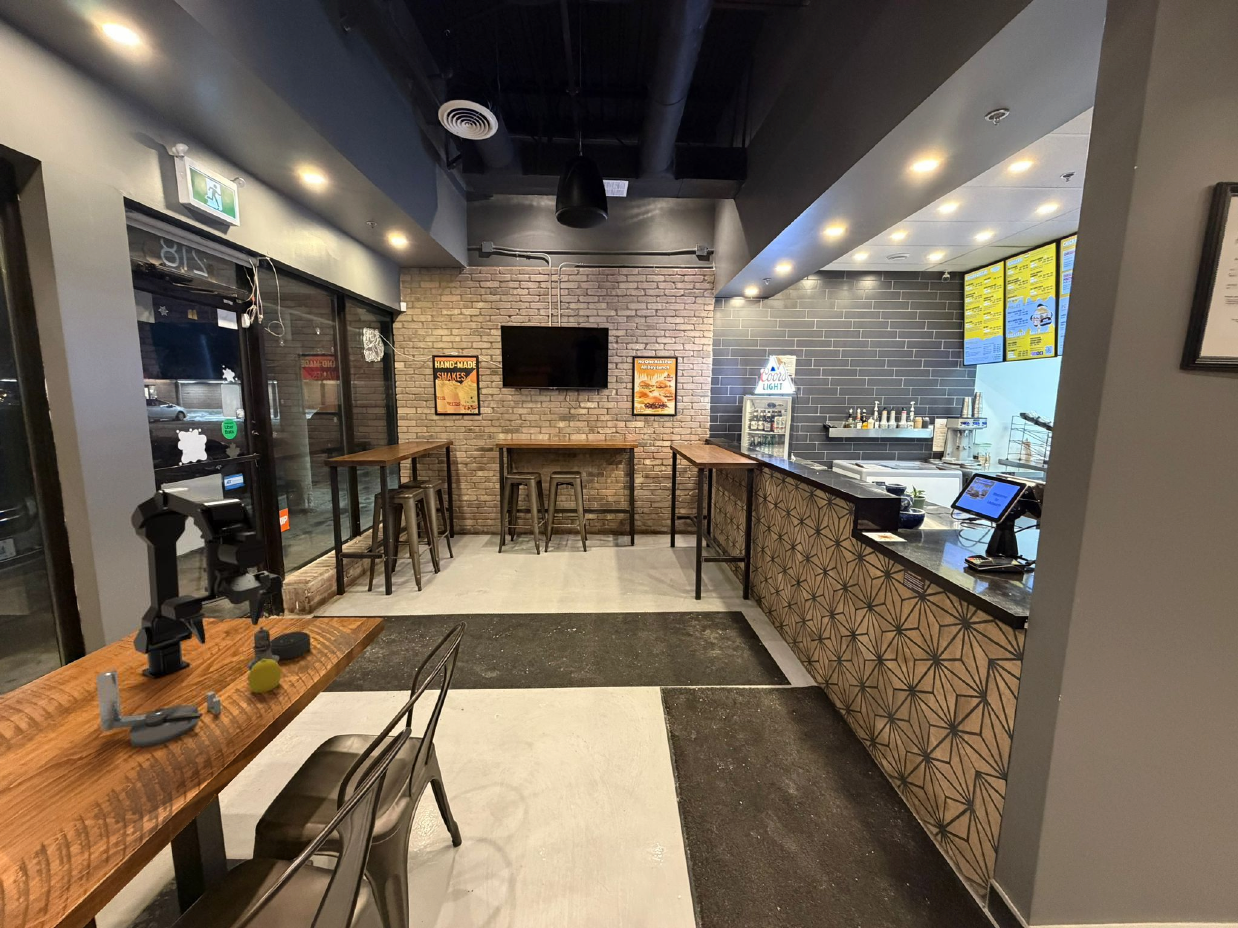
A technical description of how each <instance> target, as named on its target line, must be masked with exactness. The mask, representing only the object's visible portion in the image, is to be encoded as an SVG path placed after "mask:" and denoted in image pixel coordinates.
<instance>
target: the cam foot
mask: <svg viewBox="0 0 1238 928" xmlns="http://www.w3.org/2000/svg"><path fill="white" fill-rule="evenodd" d="M118 678H119V677H118V671H117V670H115V669H112V670H107V671H103V672H101V673H99V674H97V675H96V677H95V680H96V689H97V699H98V707H99V717H100V718H99V719H100V727H101V729H100V730H101V731H104V732H106V731H111V730H114V729H121V728H130V727H131V728H130V730H129V738H130V739H129V740H130V745H131V746H132V747H134V748H140V749H141V748H149V747H150V748H151V747H155V746H158V745H163V744H165V743H168V742H171V741H173V740H176V739H177V738H180V737H183V736H184V735H185V734H187V733H188V732H189V733H190V731H191V730H193V729H194V728H195V727H196V726H197V725H198V723H199V719H201V718H202V717H203V712H199V709H198V707H197V706H195V705H192V704H184V705H183V704H182V705H178V706H172V707H167V708H166V707H165V708H164V707H163V708H158V709H154V710H151V711H150V712H148V713H144V714H143V713H141V714H136V715H135V714H133V715H124V716H123V715H122V708H121V707H122V706H121V698H120V697H121V696H120V688H119V679H118Z"/></svg>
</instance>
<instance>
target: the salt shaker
mask: <svg viewBox="0 0 1238 928" xmlns="http://www.w3.org/2000/svg"><path fill="white" fill-rule="evenodd" d="M259 629H260V630H257V631H256V632H255V633H254V635H253V638H254V639H253V641H254V642H253V644H254V646H253V647H252V650H253V651H254V658H253V660H251V661H249V663H247V668H248V669H249V672H250V671H251V669H252V667H253V666H254V665H255V664H256V663H258V662H259V661H261V660H262V659H272V660H274V661H276V662H277V663H278V664H279V661H278V660H279V656H277V655H272V653H271V645H272V643H271V642H270V641H271V636H270V633H271V632H270V631H269V629H264V627H263V626H260V627H259Z"/></svg>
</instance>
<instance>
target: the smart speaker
mask: <svg viewBox="0 0 1238 928" xmlns="http://www.w3.org/2000/svg"><path fill="white" fill-rule="evenodd" d="M270 642H271V643H272V645H271V653H272V655H277V656H279V660H281V661H287V660H286V659H288V660H291V659H295V658H298V657H301V656H302V655H304V654H305V653H306V652H307V653H308V651H309V650H310V648H311V644H312V643H311V636H310V634H309V633H308V632H304V631H292V632H288V633H283V634H281V635H278V636H276V637H274V638H272V639H270ZM297 656H298V657H297ZM279 660H278V662H279Z"/></svg>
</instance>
